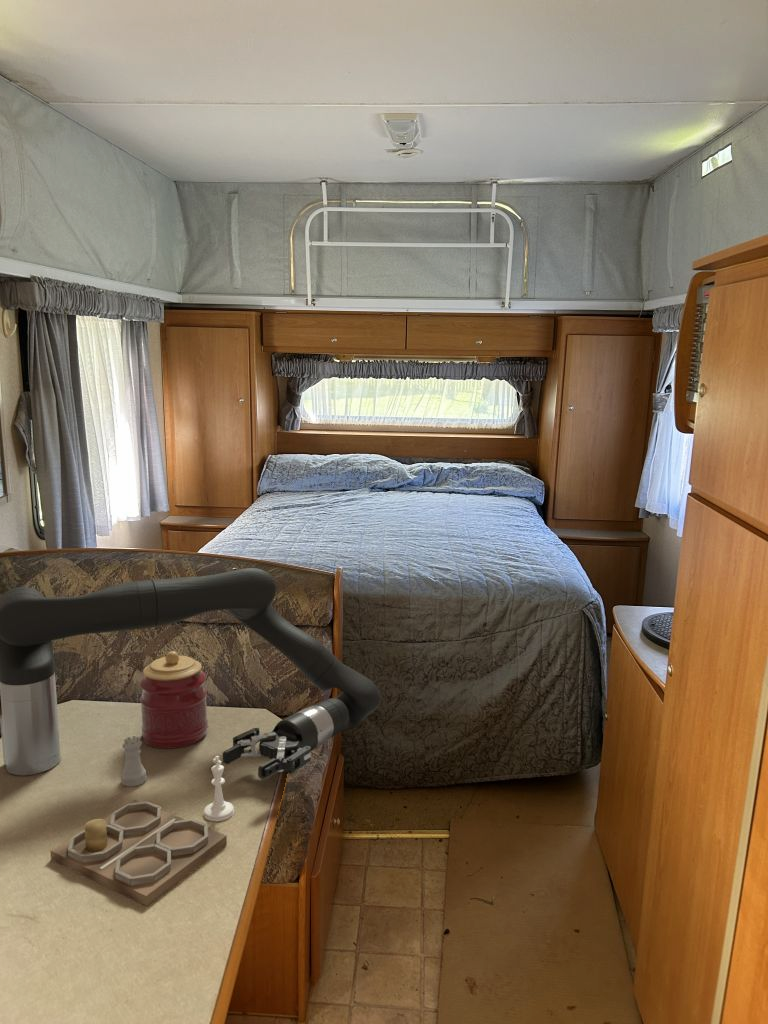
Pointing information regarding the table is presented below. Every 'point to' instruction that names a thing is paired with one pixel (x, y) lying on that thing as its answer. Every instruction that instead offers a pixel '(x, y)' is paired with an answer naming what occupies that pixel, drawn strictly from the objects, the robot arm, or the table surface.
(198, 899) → the table surface
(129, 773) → the rook chess piece
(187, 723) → the canister
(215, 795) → the chess piece
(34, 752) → the robot arm
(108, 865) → the brown octagon slot tray
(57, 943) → the table surface
